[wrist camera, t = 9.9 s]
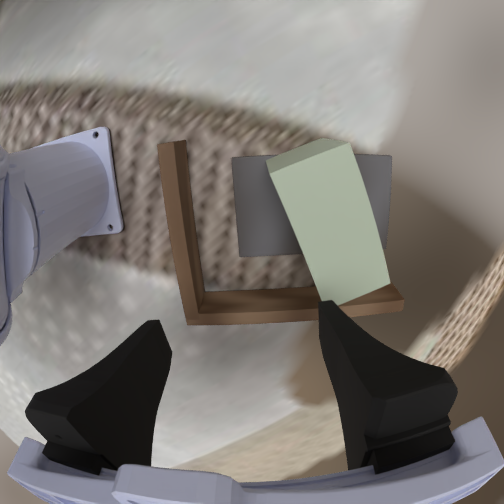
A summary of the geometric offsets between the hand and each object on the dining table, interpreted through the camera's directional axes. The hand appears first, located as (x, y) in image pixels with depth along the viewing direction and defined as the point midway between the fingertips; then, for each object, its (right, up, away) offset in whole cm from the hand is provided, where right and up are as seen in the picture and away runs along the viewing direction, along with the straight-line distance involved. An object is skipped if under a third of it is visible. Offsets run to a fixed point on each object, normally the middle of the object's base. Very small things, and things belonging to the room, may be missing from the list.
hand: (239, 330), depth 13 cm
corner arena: (+4, +6, +8) cm, 10 cm away
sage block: (+5, +7, +7) cm, 11 cm away
